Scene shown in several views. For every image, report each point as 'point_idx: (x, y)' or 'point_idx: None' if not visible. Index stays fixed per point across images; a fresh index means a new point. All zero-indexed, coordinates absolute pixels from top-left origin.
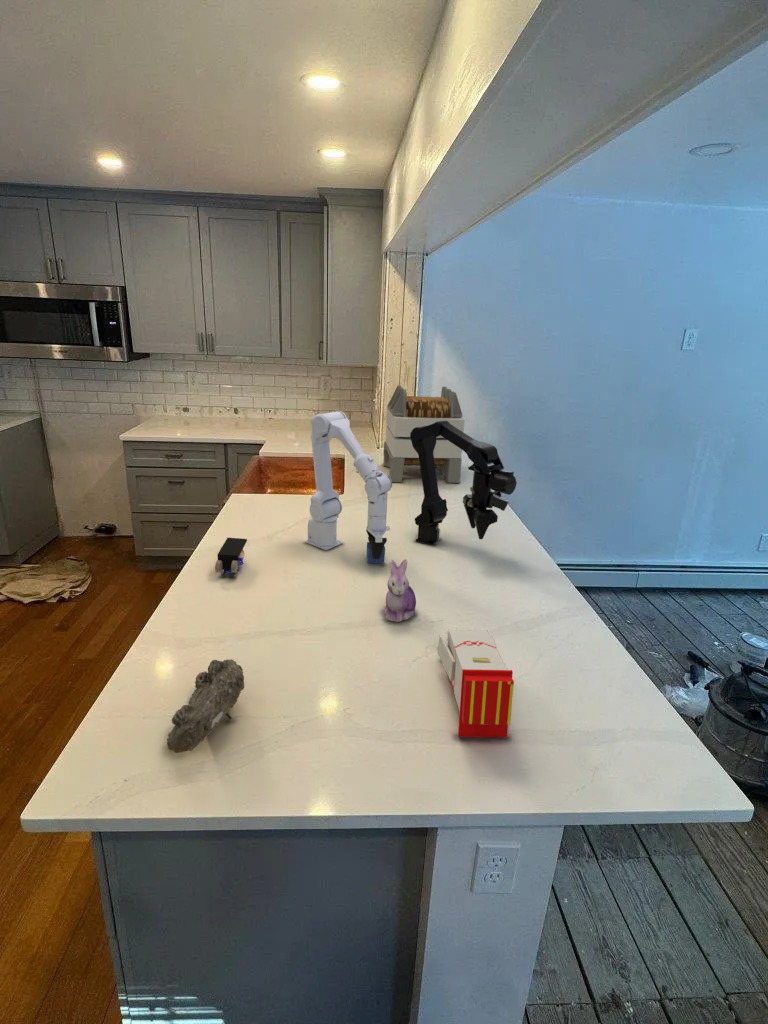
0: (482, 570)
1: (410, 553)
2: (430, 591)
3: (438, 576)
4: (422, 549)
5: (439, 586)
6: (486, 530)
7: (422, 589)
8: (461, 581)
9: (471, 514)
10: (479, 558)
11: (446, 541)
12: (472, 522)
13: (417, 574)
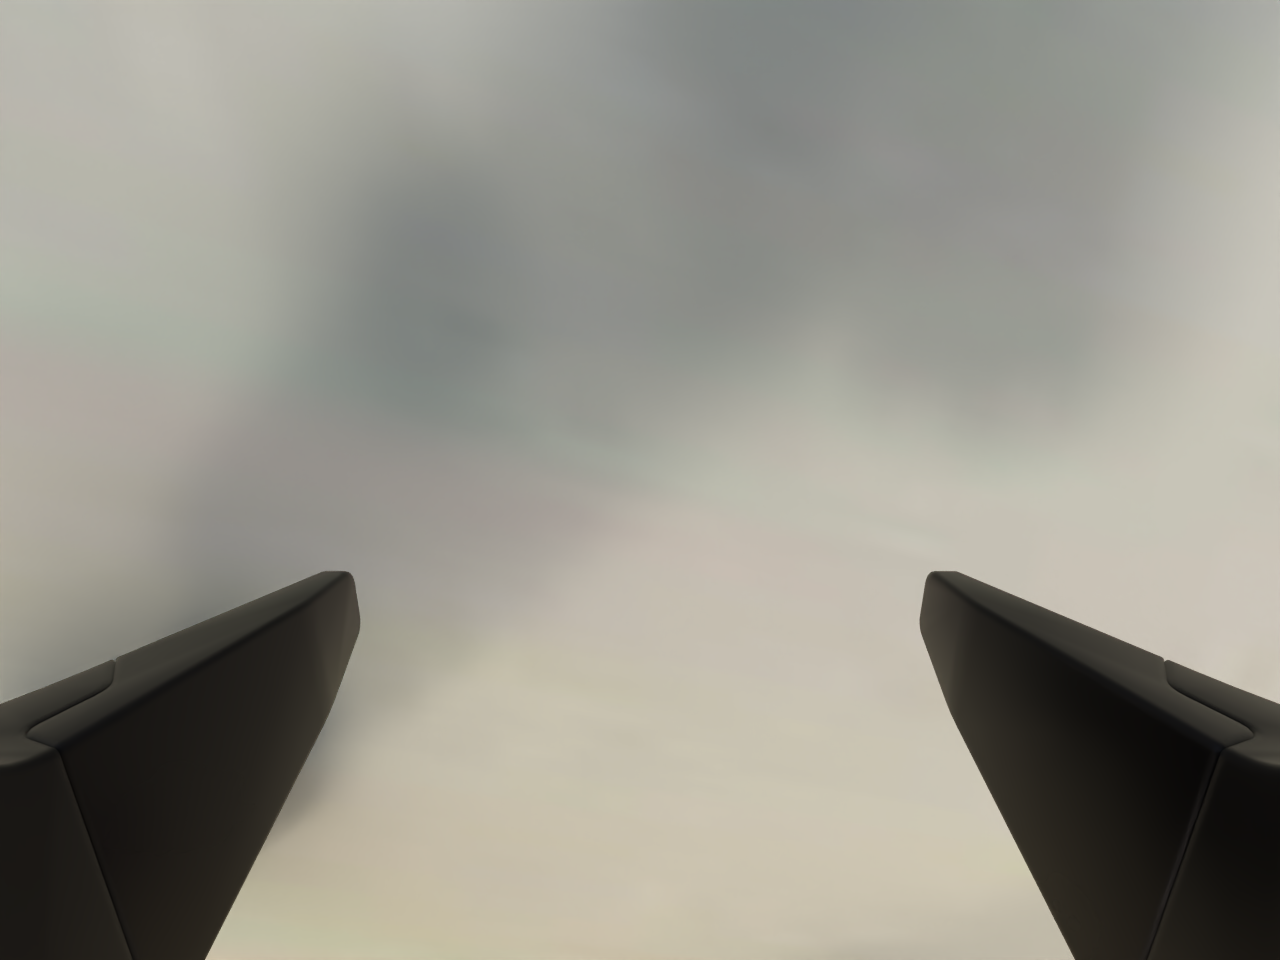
0: (936, 411)
1: (501, 944)
2: None
3: (983, 825)
4: (402, 852)
5: None
6: (1170, 662)
7: None
8: None
9: (159, 905)
10: (609, 356)
11: (143, 612)
12: (301, 701)
13: (915, 951)
